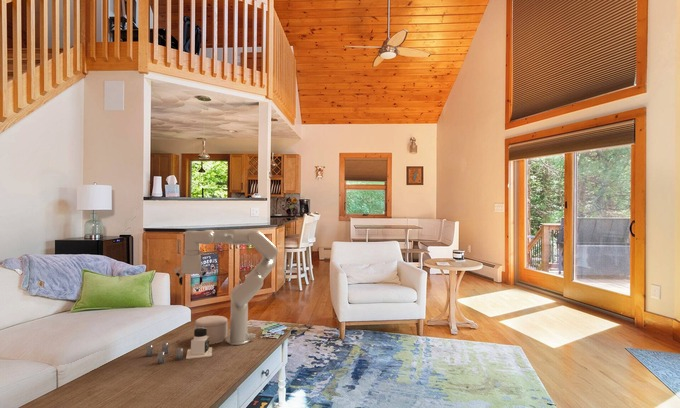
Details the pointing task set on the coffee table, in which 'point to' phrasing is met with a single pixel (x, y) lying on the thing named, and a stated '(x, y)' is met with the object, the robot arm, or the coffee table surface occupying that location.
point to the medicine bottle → (200, 342)
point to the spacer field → (163, 352)
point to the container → (213, 327)
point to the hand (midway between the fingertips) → (190, 284)
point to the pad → (208, 354)
